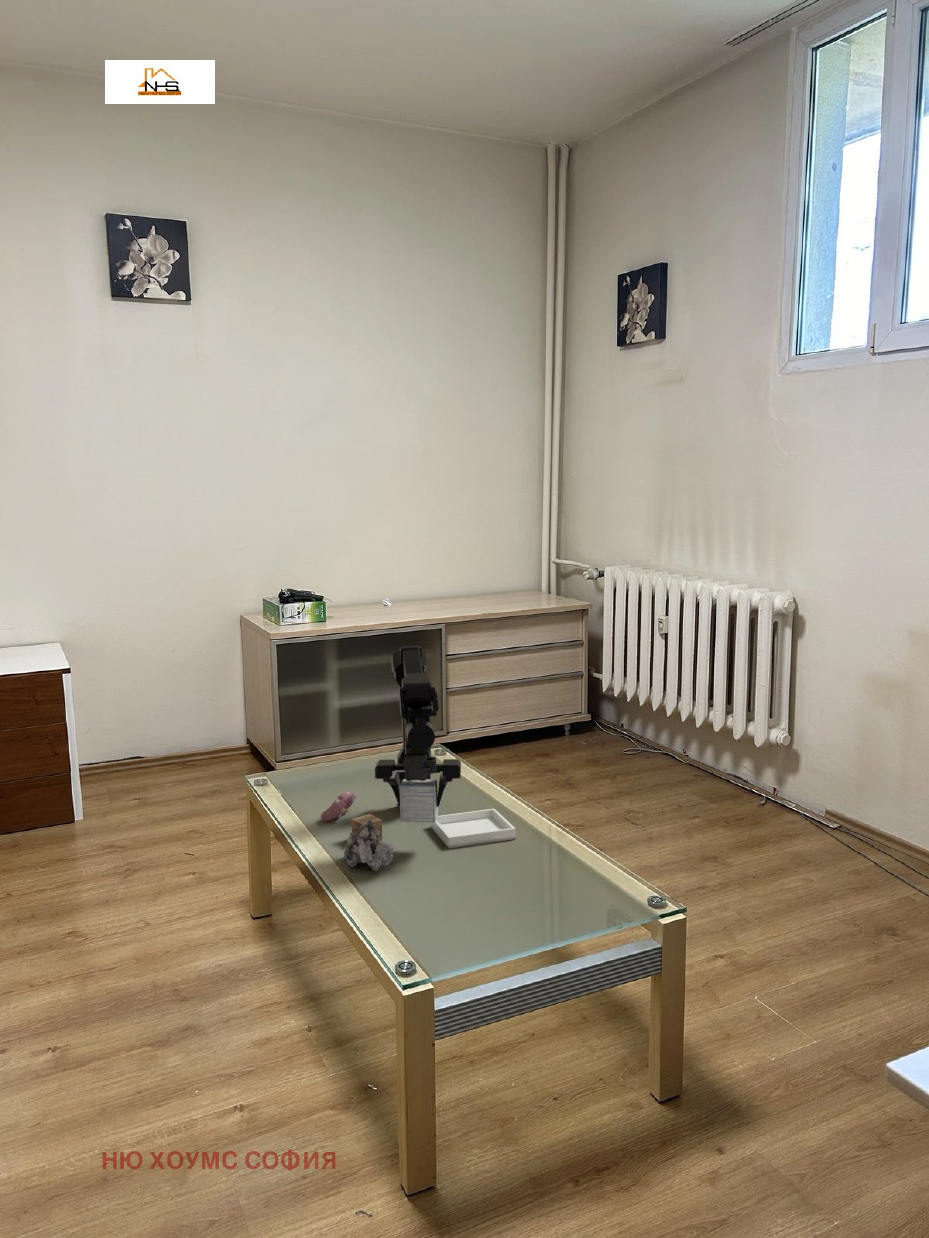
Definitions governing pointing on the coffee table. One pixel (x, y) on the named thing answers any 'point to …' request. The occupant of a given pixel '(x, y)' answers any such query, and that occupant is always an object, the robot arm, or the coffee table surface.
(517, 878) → the coffee table surface
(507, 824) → the tray
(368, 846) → the mineral specimen
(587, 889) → the coffee table surface
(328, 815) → the pink crystal rock
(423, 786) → the medicine box
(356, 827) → the walnut block
